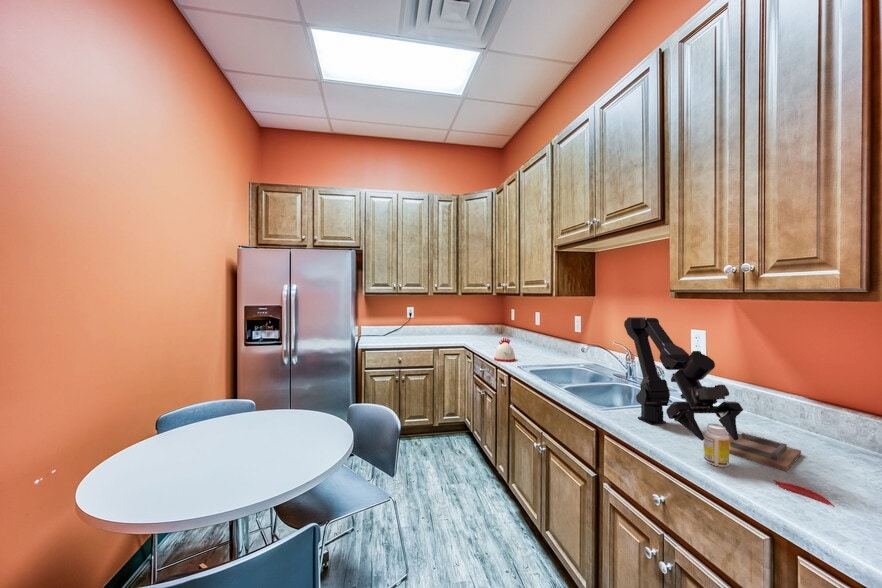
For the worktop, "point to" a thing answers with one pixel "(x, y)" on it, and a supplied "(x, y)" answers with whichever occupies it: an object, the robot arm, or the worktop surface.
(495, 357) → the cream dome hat
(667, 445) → the worktop surface
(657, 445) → the worktop surface
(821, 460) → the worktop surface
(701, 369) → the robot arm
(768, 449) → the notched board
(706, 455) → the supplement bottle
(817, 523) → the worktop surface
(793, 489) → the cayenne pepper
